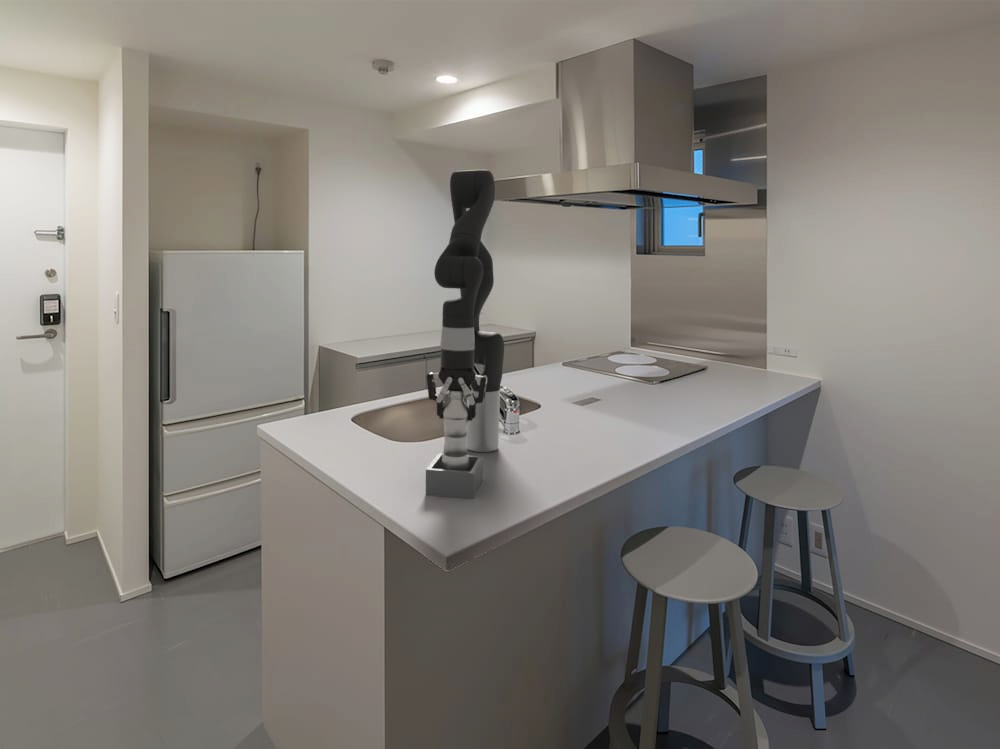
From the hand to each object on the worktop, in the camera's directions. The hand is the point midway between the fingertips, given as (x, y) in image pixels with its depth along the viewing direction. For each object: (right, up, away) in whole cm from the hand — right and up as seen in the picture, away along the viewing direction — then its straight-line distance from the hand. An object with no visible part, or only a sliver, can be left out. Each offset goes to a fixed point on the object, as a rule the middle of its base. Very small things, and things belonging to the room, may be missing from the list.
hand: (456, 418), depth 136 cm
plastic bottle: (0, -13, +2) cm, 13 cm away
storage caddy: (-1, -16, +3) cm, 17 cm away
